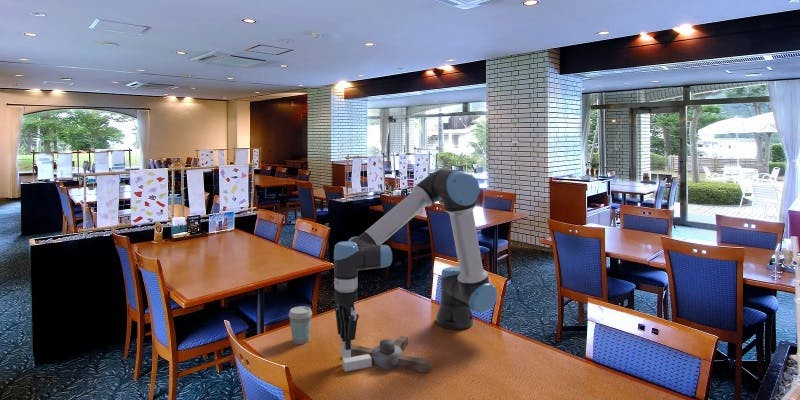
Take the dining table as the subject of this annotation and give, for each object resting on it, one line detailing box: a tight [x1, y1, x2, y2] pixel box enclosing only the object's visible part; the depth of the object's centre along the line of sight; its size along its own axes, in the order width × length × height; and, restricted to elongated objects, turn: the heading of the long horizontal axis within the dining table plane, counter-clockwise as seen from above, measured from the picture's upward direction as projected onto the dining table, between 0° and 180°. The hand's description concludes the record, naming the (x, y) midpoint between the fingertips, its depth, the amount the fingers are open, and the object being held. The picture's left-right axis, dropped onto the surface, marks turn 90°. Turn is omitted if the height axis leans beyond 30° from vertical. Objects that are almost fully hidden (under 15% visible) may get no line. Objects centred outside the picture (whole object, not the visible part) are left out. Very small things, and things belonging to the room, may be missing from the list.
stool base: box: [351, 335, 432, 374], centre depth 151 cm, size 23×23×7 cm
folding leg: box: [342, 354, 373, 372], centre depth 147 cm, size 9×3×3 cm, turn 112°
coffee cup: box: [288, 305, 313, 345], centre depth 166 cm, size 8×8×12 cm
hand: (346, 357), depth 150 cm, fingers closed
